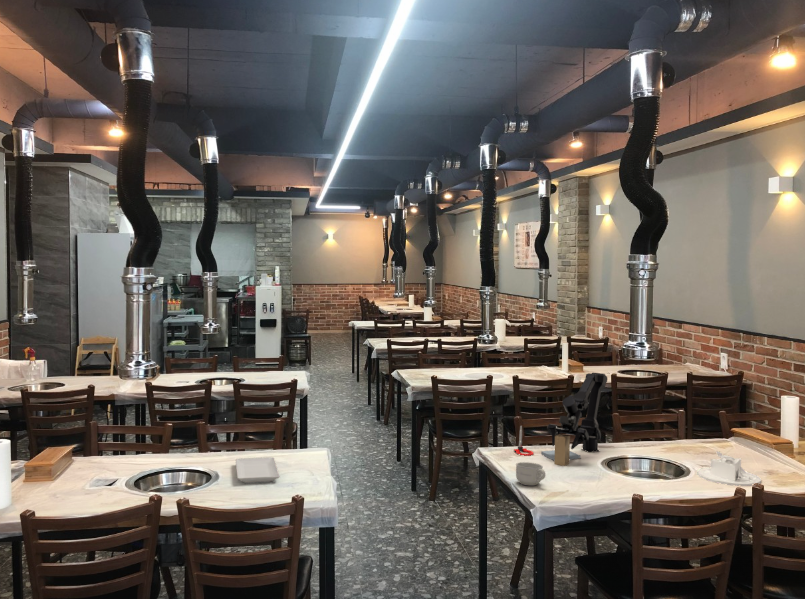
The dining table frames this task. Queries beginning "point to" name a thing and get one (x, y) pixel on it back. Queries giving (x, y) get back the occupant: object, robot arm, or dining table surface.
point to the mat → (552, 455)
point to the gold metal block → (562, 449)
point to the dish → (728, 472)
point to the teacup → (529, 473)
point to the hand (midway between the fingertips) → (562, 447)
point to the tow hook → (522, 447)
